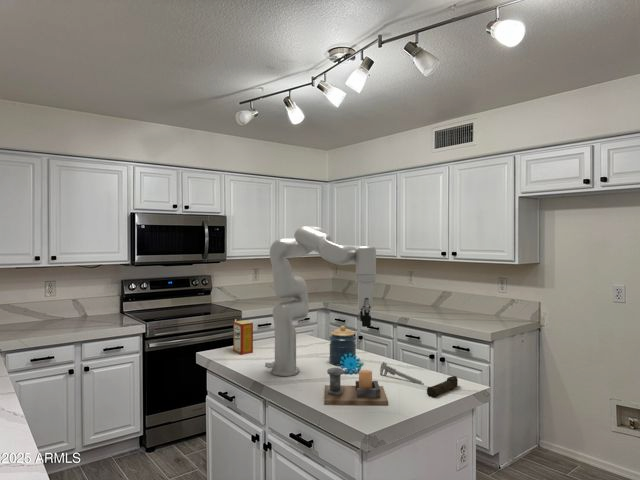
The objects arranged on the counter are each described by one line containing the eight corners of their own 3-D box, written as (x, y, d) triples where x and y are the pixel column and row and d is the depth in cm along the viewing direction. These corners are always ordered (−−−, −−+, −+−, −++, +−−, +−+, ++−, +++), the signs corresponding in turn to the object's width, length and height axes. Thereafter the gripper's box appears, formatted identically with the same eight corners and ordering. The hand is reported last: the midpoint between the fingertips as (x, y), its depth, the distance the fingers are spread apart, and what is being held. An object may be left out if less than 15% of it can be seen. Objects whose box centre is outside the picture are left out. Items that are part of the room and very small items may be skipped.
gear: (340, 371, 193) (340, 351, 200) (337, 377, 197) (337, 357, 204) (364, 374, 194) (363, 353, 201) (361, 380, 198) (360, 360, 205)
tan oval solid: (359, 395, 164) (359, 373, 164) (358, 390, 169) (358, 369, 169) (372, 395, 164) (372, 373, 164) (371, 390, 169) (371, 369, 169)
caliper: (380, 375, 193) (380, 361, 193) (381, 375, 194) (381, 360, 194) (423, 385, 180) (423, 370, 180) (424, 384, 181) (424, 369, 181)
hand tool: (434, 399, 165) (435, 386, 165) (426, 396, 168) (426, 384, 168) (463, 388, 177) (463, 376, 177) (454, 385, 181) (454, 374, 180)
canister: (323, 361, 214) (323, 325, 213) (342, 356, 222) (342, 322, 222) (342, 367, 204) (342, 329, 204) (361, 362, 212) (361, 326, 212)
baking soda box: (233, 350, 233) (233, 320, 233) (244, 349, 237) (244, 319, 237) (241, 354, 226) (241, 323, 225) (252, 352, 230) (252, 322, 229)
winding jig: (324, 404, 159) (324, 376, 159) (324, 389, 175) (325, 364, 175) (388, 405, 159) (388, 377, 159) (382, 389, 175) (382, 364, 174)
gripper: (354, 276, 175) (354, 319, 175) (357, 281, 158) (356, 328, 158) (373, 276, 175) (373, 319, 175) (378, 281, 158) (377, 328, 158)
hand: (365, 323), depth 167 cm, fingers open, 9 cm apart
